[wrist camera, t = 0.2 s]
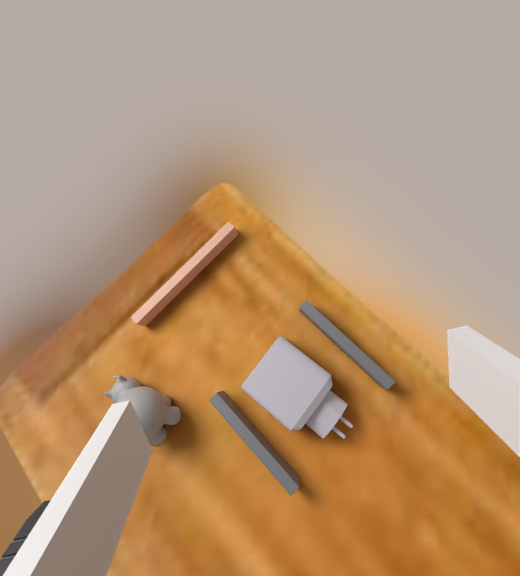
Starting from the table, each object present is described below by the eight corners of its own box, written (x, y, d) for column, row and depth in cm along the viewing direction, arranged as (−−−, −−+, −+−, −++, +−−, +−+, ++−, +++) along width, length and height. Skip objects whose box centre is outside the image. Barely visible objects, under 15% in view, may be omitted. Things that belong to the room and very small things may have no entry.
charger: (327, 455, 43) (245, 385, 47) (365, 402, 44) (282, 337, 48) (329, 466, 38) (239, 388, 42) (372, 406, 39) (279, 334, 43)
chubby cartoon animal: (155, 365, 52) (116, 350, 45) (191, 416, 45) (151, 407, 38) (126, 399, 51) (82, 389, 44) (157, 456, 44) (110, 454, 37)
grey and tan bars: (393, 375, 44) (400, 376, 40) (287, 490, 42) (285, 501, 39) (232, 229, 53) (227, 220, 50) (140, 320, 51) (128, 317, 48)
